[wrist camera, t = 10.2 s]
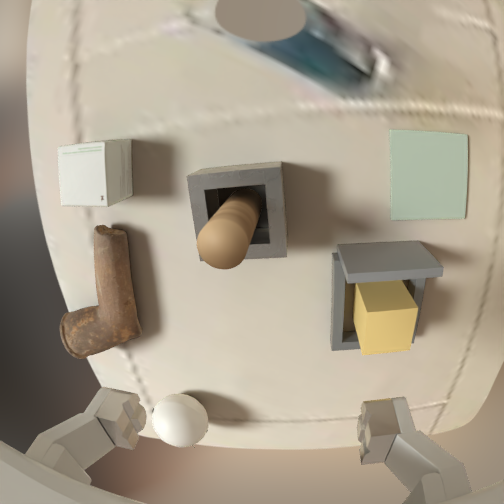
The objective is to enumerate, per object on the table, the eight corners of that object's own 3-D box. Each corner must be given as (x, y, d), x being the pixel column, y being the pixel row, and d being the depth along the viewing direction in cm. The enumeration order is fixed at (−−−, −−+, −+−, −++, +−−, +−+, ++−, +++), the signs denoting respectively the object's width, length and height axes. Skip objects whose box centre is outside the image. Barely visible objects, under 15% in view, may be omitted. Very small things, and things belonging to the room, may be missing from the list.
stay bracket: (201, 169, 27) (186, 176, 23) (281, 161, 26) (280, 166, 22) (211, 243, 29) (200, 261, 26) (287, 239, 28) (286, 257, 24)
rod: (226, 189, 27) (192, 222, 18) (260, 186, 27) (244, 219, 17) (230, 222, 28) (201, 270, 19) (263, 219, 28) (249, 268, 19)
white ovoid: (156, 378, 37) (136, 418, 31) (211, 386, 37) (197, 431, 30) (169, 422, 41) (155, 459, 35) (217, 430, 40) (206, 470, 34)
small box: (133, 137, 26) (105, 141, 22) (134, 196, 28) (108, 209, 24) (85, 141, 27) (55, 146, 22) (88, 195, 29) (59, 208, 24)
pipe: (117, 237, 25) (29, 235, 24) (140, 378, 31) (64, 366, 31) (138, 216, 31) (59, 215, 30) (151, 343, 37) (83, 335, 37)
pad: (389, 129, 23) (390, 129, 23) (465, 134, 22) (467, 134, 22) (390, 219, 26) (391, 220, 26) (463, 217, 25) (464, 218, 25)
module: (354, 278, 29) (367, 312, 23) (398, 275, 28) (418, 307, 23) (352, 317, 31) (362, 355, 25) (393, 313, 30) (409, 350, 24)
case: (331, 244, 28) (341, 274, 22) (422, 240, 26) (448, 266, 21) (330, 340, 32) (335, 379, 26) (409, 333, 30) (425, 369, 25)
